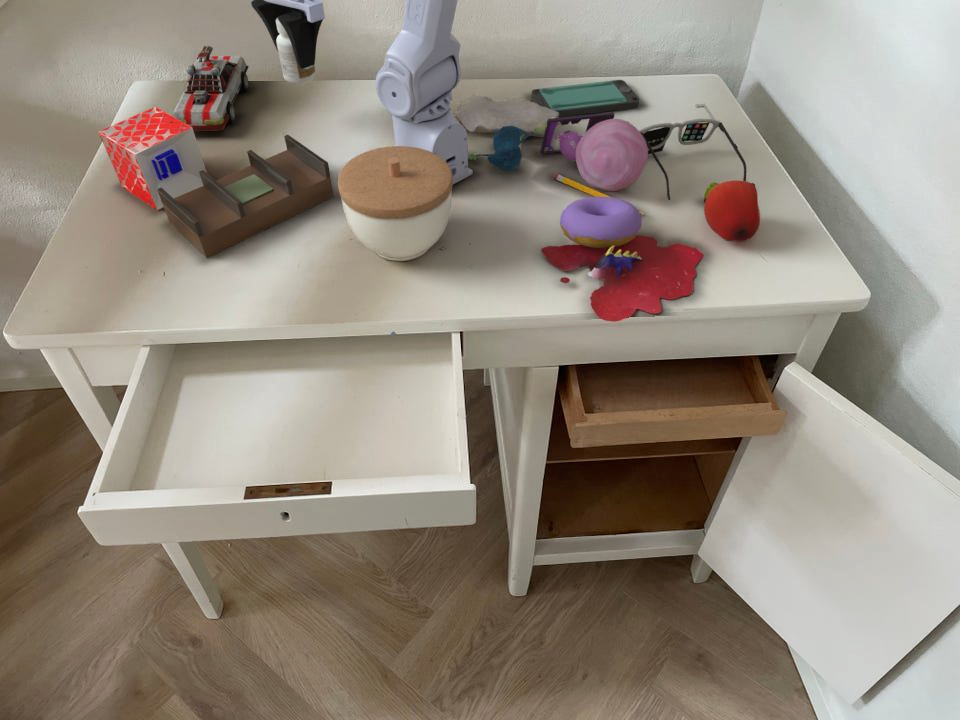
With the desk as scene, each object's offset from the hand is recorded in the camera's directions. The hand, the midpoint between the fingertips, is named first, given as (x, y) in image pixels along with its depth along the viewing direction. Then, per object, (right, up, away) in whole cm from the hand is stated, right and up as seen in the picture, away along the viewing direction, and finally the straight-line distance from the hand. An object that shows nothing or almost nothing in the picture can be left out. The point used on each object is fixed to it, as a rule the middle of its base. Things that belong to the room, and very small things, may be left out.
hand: (297, 59), depth 96 cm
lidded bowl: (+15, -27, -11) cm, 33 cm away
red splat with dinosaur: (+42, -31, -14) cm, 54 cm away
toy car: (-15, -3, +10) cm, 18 cm away
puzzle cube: (-16, -18, -4) cm, 24 cm away
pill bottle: (0, -2, +2) cm, 3 cm away
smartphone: (+41, -2, +12) cm, 42 cm away
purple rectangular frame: (+38, -14, +1) cm, 40 cm away
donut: (+39, -27, -12) cm, 49 cm away
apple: (+55, -27, -14) cm, 62 cm away
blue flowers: (+29, -10, +1) cm, 30 cm away
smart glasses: (+52, -15, -1) cm, 54 cm away
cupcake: (+43, -12, -2) cm, 45 cm away
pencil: (+40, -20, -5) cm, 45 cm away
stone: (+21, -4, +7) cm, 23 cm away
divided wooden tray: (-3, -22, -7) cm, 23 cm away
